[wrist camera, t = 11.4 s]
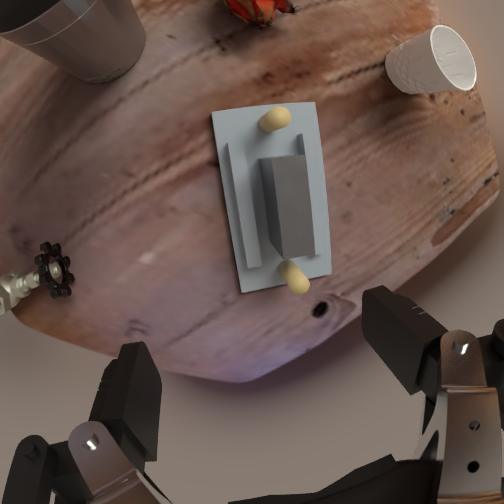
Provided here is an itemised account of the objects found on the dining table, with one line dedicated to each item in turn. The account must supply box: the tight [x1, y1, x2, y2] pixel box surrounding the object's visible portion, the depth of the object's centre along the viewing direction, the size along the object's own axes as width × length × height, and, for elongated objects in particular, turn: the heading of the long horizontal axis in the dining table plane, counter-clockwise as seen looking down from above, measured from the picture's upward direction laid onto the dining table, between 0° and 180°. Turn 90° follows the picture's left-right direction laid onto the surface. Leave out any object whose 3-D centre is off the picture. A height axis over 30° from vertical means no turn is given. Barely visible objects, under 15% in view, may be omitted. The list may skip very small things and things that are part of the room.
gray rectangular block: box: [259, 155, 315, 260], centre depth 28 cm, size 9×3×6 cm, turn 8°
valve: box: [0, 242, 75, 315], centre depth 26 cm, size 7×7×12 cm
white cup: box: [385, 25, 476, 94], centre depth 24 cm, size 8×8×10 cm
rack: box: [211, 102, 332, 295], centre depth 29 cm, size 20×11×6 cm, turn 9°
